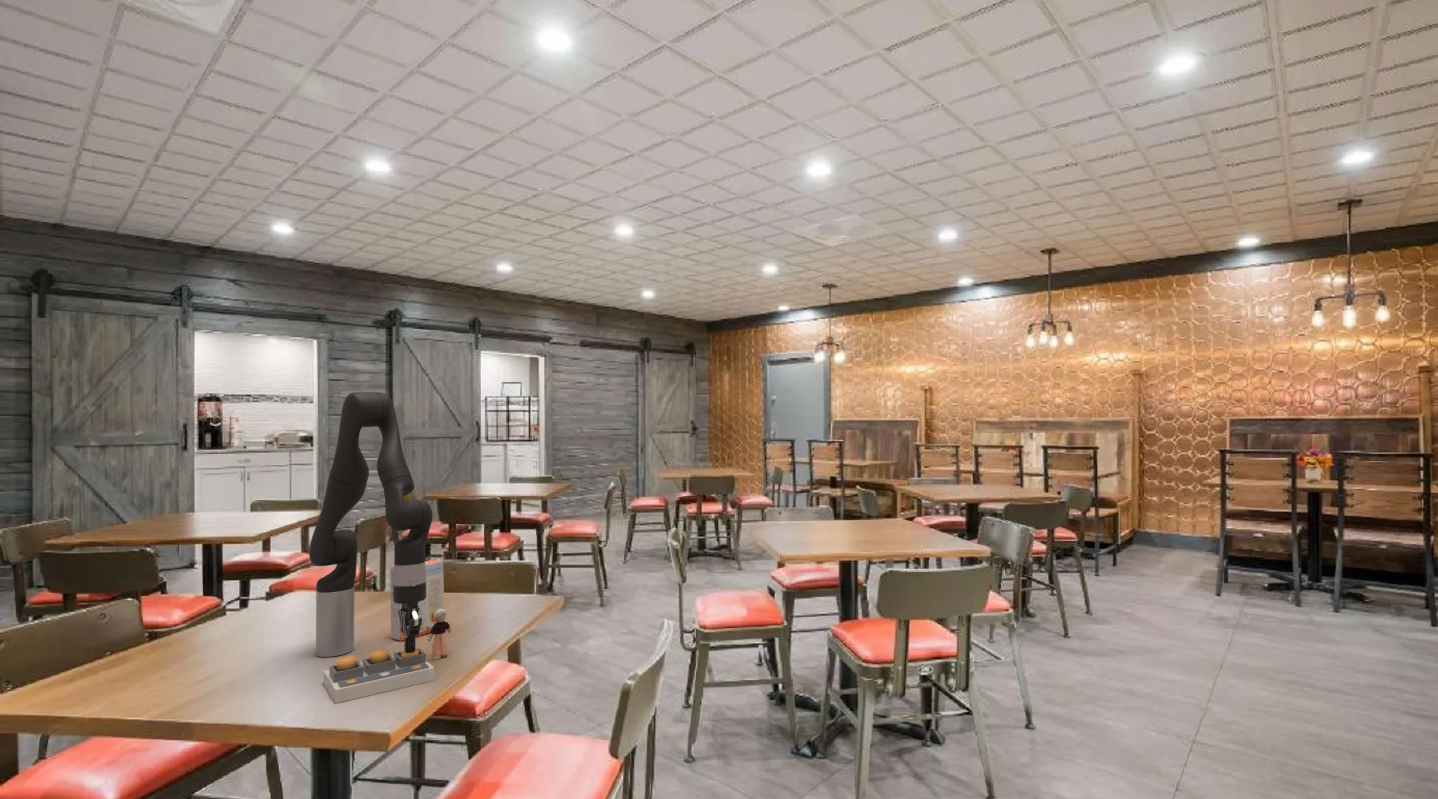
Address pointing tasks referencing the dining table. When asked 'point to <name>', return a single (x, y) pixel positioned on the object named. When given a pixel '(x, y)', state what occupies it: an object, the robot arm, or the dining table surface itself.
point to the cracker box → (426, 606)
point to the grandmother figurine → (439, 635)
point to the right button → (404, 654)
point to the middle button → (378, 655)
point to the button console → (377, 676)
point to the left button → (346, 662)
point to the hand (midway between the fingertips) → (409, 651)
